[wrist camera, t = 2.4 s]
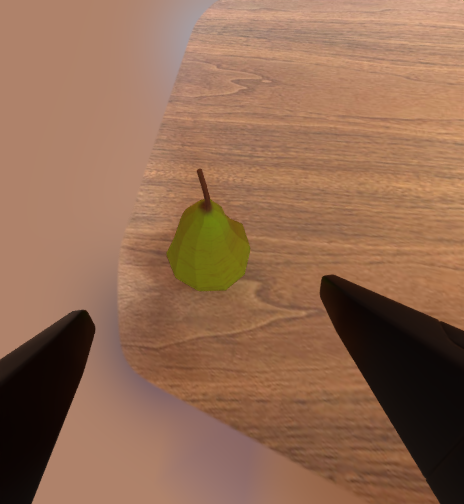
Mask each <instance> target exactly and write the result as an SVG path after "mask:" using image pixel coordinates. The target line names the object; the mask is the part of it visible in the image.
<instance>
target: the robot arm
mask: <svg viewBox="0 0 464 504" xmlns="http://www.w3.org/2000/svg"><path fill="white" fill-rule="evenodd" d="M320 297H321V300H322V302H323V304H324V306H325V308H326V311H327V313H328V315H329V317H330V319H331V321H332V323H333V325H334V328H335V330H336V332H337V333H338V335H339V337H340V339H341V340H342V342H343V343H344V345H345V347H346V348H347V350H348V352H349V353H350V355H351V357H352V358H353V360H354V362H355V363H356V365H357V367H358V368H359V370H360V372H361V373H362V375H363V377H364V378H365V380H366V381H367V383H368V385H369V386H370V388H371V390H372V391H373V393H374V395H375V396H376V398H377V400H378V401H379V403H380V405H381V406H382V408H383V410H384V411H385V413H386V415H387V416H388V418H389V419H390V421H391V423H392V424H393V426H394V428H395V429H396V431H397V433H398V434H399V436H400V438H401V439H402V441H403V443H404V444H405V446H406V448H407V449H408V451H409V453H410V454H411V456H412V458H413V459H414V461H415V462H416V464H417V466H418V467H419V469H420V471H421V472H422V474H423V476H424V477H425V478H426V481H427V483H428V484H429V486H430V488H431V489H432V491H433V493H434V494H435V496H436V498H437V499H438V501H439V503H440V504H464V331H463V330H461V329H458V328H456V327H454V326H451V325H449V324H447V323H445V322H442V321H440V322H439V320H437V319H435V318H433V317H431V316H428V315H426V314H424V313H421V312H419V311H417V310H414V309H412V308H410V307H407V306H405V305H403V304H400V303H398V302H396V301H394V300H391V299H389V298H387V297H384V296H382V295H380V294H377V293H375V292H373V291H370V290H368V289H366V288H364V287H361V286H359V285H357V284H354V283H352V282H350V281H347V280H345V279H343V278H340V277H338V276H336V275H325V276H323V277H322V279H321V287H320ZM94 334H95V325H94V323H93V321H92V319H91V317H90V315H89V313H88V312H87V311H86V310H78V311H72V312H71V313H69V314H68V315H66V316H65V317H63V318H62V319H60V320H59V321H57V322H56V323H54V324H53V325H51V326H50V327H48V328H47V329H45V330H44V331H42V332H41V333H39V334H38V335H36V336H35V337H33V338H32V339H30V340H29V341H27V342H26V343H24V344H23V345H21V346H20V347H18V348H17V349H15V350H14V351H12V352H11V353H9V354H8V355H6V356H5V357H3V358H2V359H0V504H32V501H33V498H34V496H35V494H36V491H37V489H38V486H39V484H40V481H41V478H42V476H43V474H44V471H45V468H46V466H47V463H48V461H49V458H50V456H51V453H52V451H53V448H54V446H55V443H56V441H57V438H58V436H59V433H60V430H61V428H62V426H63V423H64V420H65V418H66V416H67V413H68V410H69V408H70V405H71V403H72V400H73V398H74V395H75V393H76V390H77V388H78V385H79V383H80V380H81V378H82V375H83V372H84V369H85V365H86V362H87V358H88V355H89V351H90V348H91V345H92V341H93V338H94Z"/></svg>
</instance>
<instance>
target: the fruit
mask: <svg viewBox="0 0 464 504" xmlns="http://www.w3.org/2000/svg"><path fill="white" fill-rule="evenodd" d="M197 174H198V177H199V180H200V183H201V186H202V190H203V194H204V199H203V200H200V201H198V202H197V203H195V204H193V205H192V206H190V207H189V208H187V209H186V210H185V211H184V213H183V215H182V217H181V219H180V222H179V225H178V228H177V231H176V234H175V237H174V239H173V241H172V243H171V245H170V247H169V249H168V251H167V258H168V260H169V263H170V265H171V268H172V270H173V273H174V275H175V278H177V279H178V280H180V281H182V282H184V283H185V284H187V285H189V286H191V287H192V288H194V289H196V290H197V291H222V290H227V289H228V288H229V287H230V286H231V285H233V284H234V283H235V282H236V281H237V280H239V279H240V278H241V277H242V276H243V275H244V274H245V270H246V266H247V262H248V258H249V253H250V246H249V243H248V239H247V236H246V233H245V230H244V227H243V224H241V223H239V222H237V221H234V220H232V219H230V218H229V217H228V216H226V215H225V213H224V211H223V209H222V207H221V206H220V205H219V204H217V203H215V202H213V201H212V200H211V199H210V197H209V193H208V189H207V185H206V182H205V179H204V175H203V172H202V169H198V170H197Z"/></svg>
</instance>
